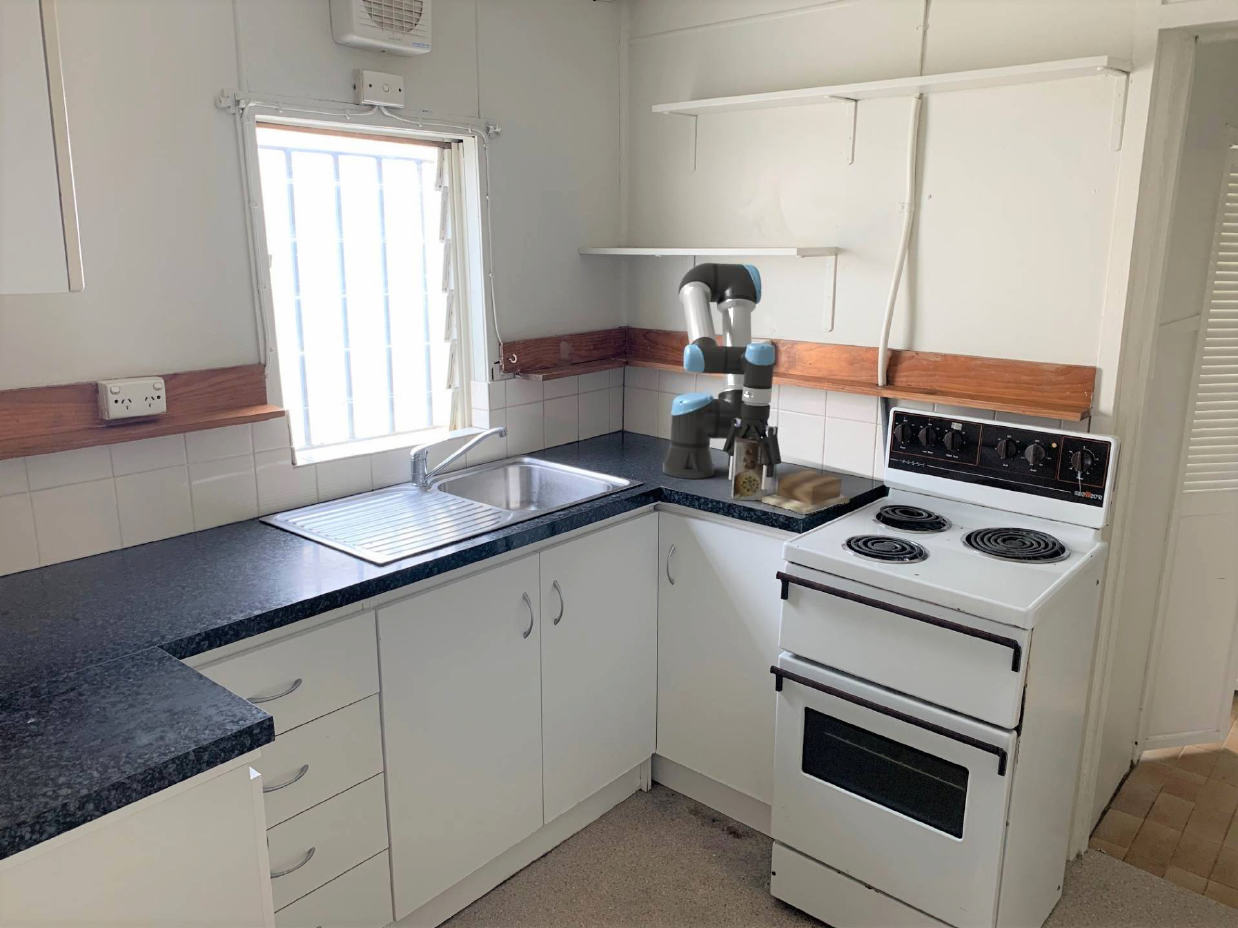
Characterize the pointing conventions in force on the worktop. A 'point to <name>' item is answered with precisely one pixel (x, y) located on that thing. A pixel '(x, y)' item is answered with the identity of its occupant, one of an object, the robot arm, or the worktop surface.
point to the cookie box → (748, 470)
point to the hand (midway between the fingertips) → (749, 483)
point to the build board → (802, 506)
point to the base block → (809, 487)
